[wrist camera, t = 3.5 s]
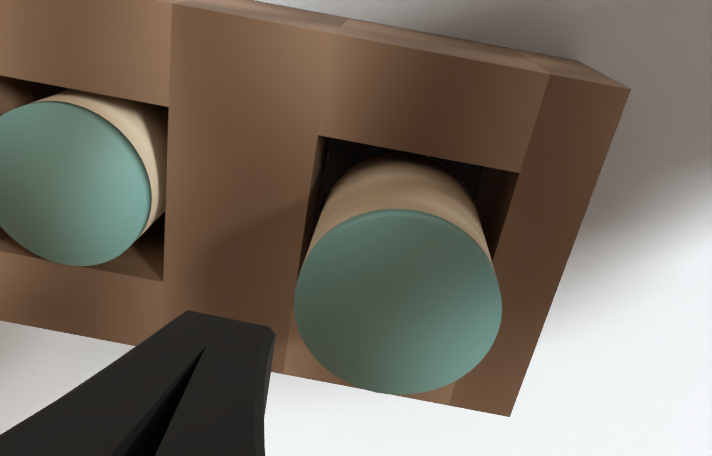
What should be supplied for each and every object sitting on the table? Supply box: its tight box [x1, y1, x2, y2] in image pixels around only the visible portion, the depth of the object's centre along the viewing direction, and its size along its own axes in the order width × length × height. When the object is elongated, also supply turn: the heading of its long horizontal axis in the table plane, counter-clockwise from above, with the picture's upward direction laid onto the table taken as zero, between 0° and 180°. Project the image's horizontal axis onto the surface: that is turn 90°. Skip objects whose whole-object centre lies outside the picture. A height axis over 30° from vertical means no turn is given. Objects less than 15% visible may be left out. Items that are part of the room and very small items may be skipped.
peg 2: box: [294, 152, 502, 395], centre depth 13 cm, size 4×4×4 cm
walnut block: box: [0, 0, 631, 417], centre depth 16 cm, size 16×9×4 cm, turn 80°
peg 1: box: [0, 89, 169, 266], centre depth 15 cm, size 4×4×4 cm
